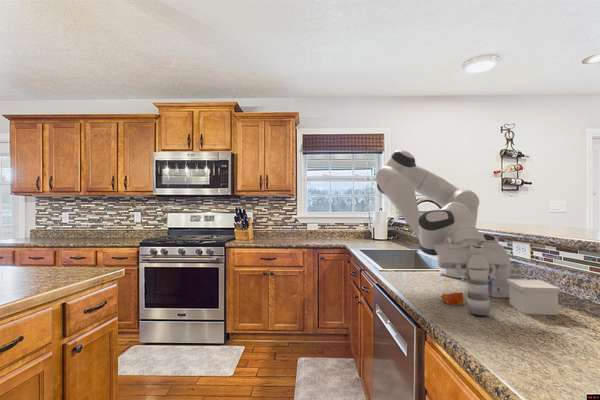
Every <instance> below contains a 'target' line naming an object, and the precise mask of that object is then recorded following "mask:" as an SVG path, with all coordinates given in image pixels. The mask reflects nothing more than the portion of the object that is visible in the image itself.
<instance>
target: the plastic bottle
mask: <svg viewBox="0 0 600 400" xmlns="http://www.w3.org/2000/svg"><path fill="white" fill-rule="evenodd" d="M470 253H471V255H470V256H469V258H468V259H467V261H466V263H465V265H466V272H467V274H468V277H469V279H468V281H467V295H466V296H467V297H466V303H465V306H466V310H467V311H468V313H470V314H471V315H476V316H481V317H482V316H484V317H485V316H488V315H490V313H491V309H492V308H491V306H492V305H491V300H490V295H489V293H488V276H489V269H490V265H489V262H488V261H487V259H486V258H485V257H484V256H483V254H484V247H479V246H471V247H470Z"/></svg>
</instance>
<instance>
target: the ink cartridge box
mask: <svg viewBox="0 0 600 400" xmlns="http://www.w3.org/2000/svg"><path fill="white" fill-rule="evenodd" d="M522 271H523V270H522V263H521V262H519V261H517V260H511V263H510V265H509V267H508V268H507V269H506V270H495V273H494V275H495V278H496V279H495V281H488V293H489V297H492V298H508V299H509V284H508V283H507V279H520V280H523V272H522ZM489 273H491V272H489Z"/></svg>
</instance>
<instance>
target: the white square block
mask: <svg viewBox="0 0 600 400" xmlns="http://www.w3.org/2000/svg"><path fill="white" fill-rule="evenodd" d="M507 283H508V284H509V298H508V299H509V305H510V306H512V307H513V308H515V309H516V310H518V311H519V312H521V313H522V314H523V315H524V314H525V315H542V316H543V315H545V316H546V315H547V316H559V293H561V291H562V290H561V287H558V286H555V285H554V284H552V283H549V282H546V281H544V280H542V279H522V280H520V279H507Z"/></svg>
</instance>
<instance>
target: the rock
mask: <svg viewBox="0 0 600 400" xmlns="http://www.w3.org/2000/svg"><path fill="white" fill-rule="evenodd" d="M440 297H441V299H442V301H443V303H445V304H447V305H459V306H462V305H464V302H465V301H464V293H463V292H452V293H441V295H440Z"/></svg>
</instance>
